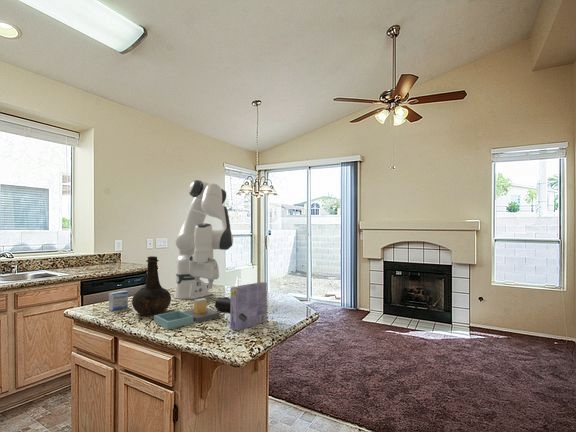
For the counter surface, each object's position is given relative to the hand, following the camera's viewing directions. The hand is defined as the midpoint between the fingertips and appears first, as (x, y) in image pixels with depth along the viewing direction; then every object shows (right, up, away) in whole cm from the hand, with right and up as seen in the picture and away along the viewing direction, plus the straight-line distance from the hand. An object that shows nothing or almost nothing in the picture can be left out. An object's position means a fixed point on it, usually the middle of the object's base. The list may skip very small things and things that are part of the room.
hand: (203, 287), depth 148 cm
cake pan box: (+23, -14, -12) cm, 30 cm away
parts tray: (-11, -14, -10) cm, 20 cm away
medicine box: (-49, -15, +15) cm, 53 cm away
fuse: (-2, -14, -1) cm, 14 cm away
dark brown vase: (-28, -15, +7) cm, 32 cm away
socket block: (-2, -14, -1) cm, 14 cm away
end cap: (+9, -15, +10) cm, 20 cm away
